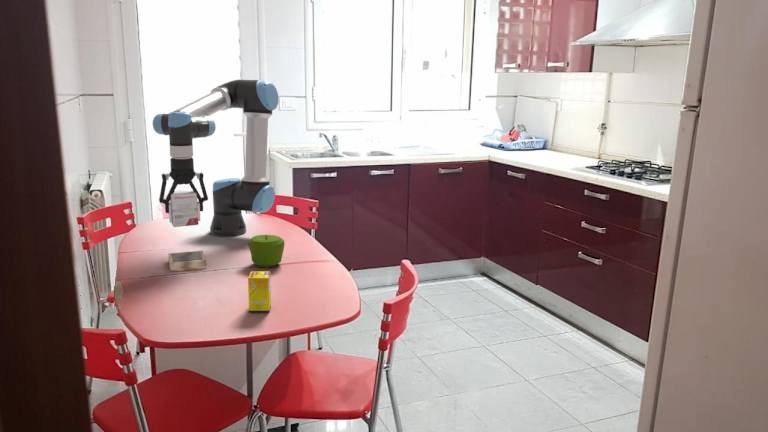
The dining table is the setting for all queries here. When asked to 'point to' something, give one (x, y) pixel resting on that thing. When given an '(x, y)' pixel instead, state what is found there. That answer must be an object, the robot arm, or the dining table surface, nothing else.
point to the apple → (266, 250)
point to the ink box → (184, 208)
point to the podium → (187, 261)
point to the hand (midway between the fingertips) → (184, 221)
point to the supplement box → (259, 291)
